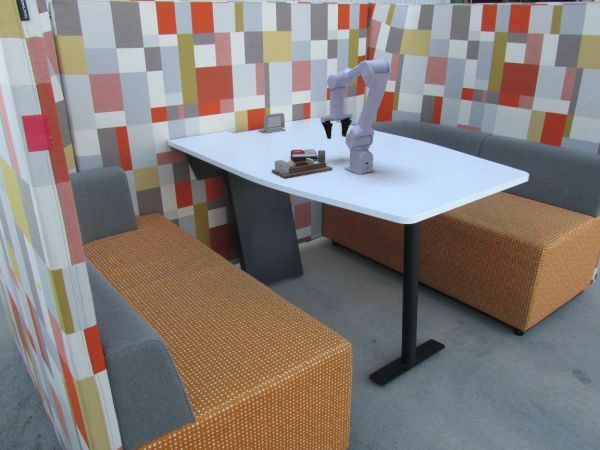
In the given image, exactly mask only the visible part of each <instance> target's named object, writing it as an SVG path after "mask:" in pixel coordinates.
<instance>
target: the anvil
mask: <svg viewBox="0 0 600 450" xmlns="http://www.w3.org/2000/svg"><path fill="white" fill-rule="evenodd" d="M287 162H288V161H285V160H282V159H279V160H275V161H274V169H275V171H276V172H278V173H280V174H283V175H286V174H289V171H290V164H289V163H287Z"/></svg>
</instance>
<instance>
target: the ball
mask: <svg viewBox="0 0 600 450" xmlns="http://www.w3.org/2000/svg"><path fill="white" fill-rule="evenodd" d="M286 162H287V163H289V164H290V168H293V167H296V164H295V162H293V161H291V160H288V161H286Z"/></svg>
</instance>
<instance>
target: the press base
mask: <svg viewBox="0 0 600 450" xmlns="http://www.w3.org/2000/svg"><path fill="white" fill-rule="evenodd" d="M314 161H318V160H317V159H314ZM325 162H326V161H325ZM325 162H322V163H316V164H311V165H306V161H302V162H296V163H295V164H296V167H293V168H290V171H289V174H286V175H283V174H280V173H278V172H276V171H275V168H274V169H271V174H274V175H275V176H278V177H281V178H282V179H284V180H285V179H286V180H287V179H292V178H296V177H304V176H307V175H313V174H318V173H324V172H331V171H333V167H332V166H328V165H327V166H326V163H325Z"/></svg>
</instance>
